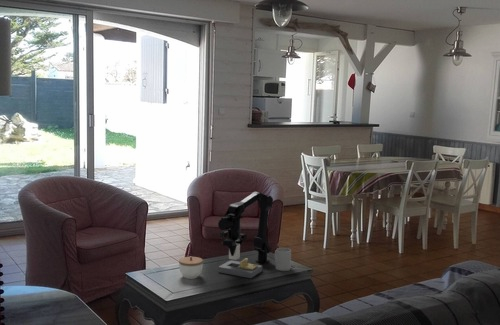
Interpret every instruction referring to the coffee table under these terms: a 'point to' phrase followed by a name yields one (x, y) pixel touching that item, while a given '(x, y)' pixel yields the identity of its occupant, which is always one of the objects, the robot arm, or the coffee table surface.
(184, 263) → the lidded bowl
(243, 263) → the tan piece
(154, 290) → the coffee table surface
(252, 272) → the socket block
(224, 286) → the coffee table surface
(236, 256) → the plug
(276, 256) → the mug
